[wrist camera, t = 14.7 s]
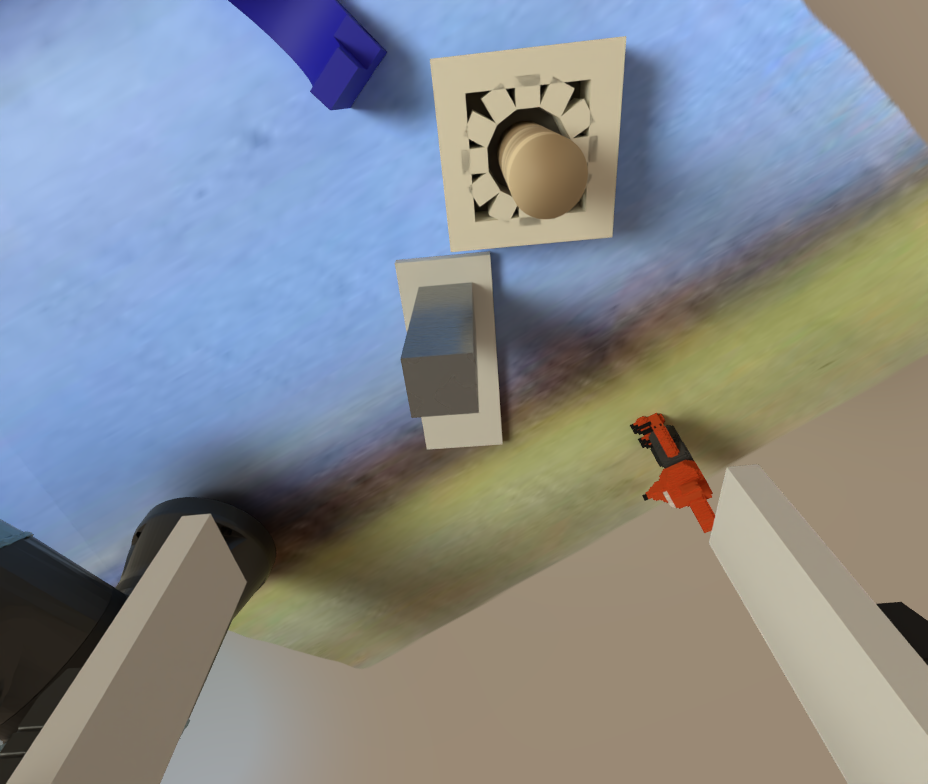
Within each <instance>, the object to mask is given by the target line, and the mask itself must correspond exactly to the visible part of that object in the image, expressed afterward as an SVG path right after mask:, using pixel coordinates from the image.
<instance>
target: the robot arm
mask: <svg viewBox="0 0 928 784" xmlns="http://www.w3.org/2000/svg"><path fill="white" fill-rule="evenodd" d="M33 535H34V534H32V533H31V532H23V531H21V530H19V529H17V528H15V527H14V526H12V525H10V524H8V523H6V522H4V521H3V520H1V519H0V740H1V741H3V745H1V746H0V784H160V782H161V780H162V778H163V775H164V773H165V771H166V768H167V766H168V764H169V761H170V759H171V757H172V755H173V752H174V750H175V747H176V745H177V743H178V741H179V739H180V737H181V735H182V733H183V731H184V729H185V728H186V727H187V726H188V724H189V722H190V720H189V717H190V715H191V713H192V711H193V708H194V706H195V704H196V701H197V699H198V697H199V695H200V692H201V690H202V688H203V686H204V683H205V681H206V679H207V676H208V674H209V672H210V670H211V667H212V665H213V663H214V660H215V658H216V656H217V653H218V651H219V649H220V647H221V644H222V642H223V640H224V637H225V635H226V633H227V631H228V629H229V626H230V624H231V622H232V620H233V619H234V617H235V616H236V615H237V614H238V613H239V611H240V610H241V609H242V608H243V607H244V606H245V604H246V603H247V602H248V601H249V599H250V598H251V597H252V596H253V594H254V593H255V592H256V591H257V590H258V589H259V588H260V587H261V586H262V585H263V584H264V583H265V581H266V580H267V578H268V576H269V574H270V572H271V569H272V567H273V564H274V562H275V558H276V548H275V544H274V541H273V539H272V537H271V535H270V534H269V532H268V531H267V530H266V529H265V528H264V526H263V525H262V524H261V523H259V522H258V521H257V520H256V519H255V518H253V517H252V516H250V515H249V514H247V513H246V512H244V511H242V510H240V509H238V508H236V507H234V506H232V505H229V504H226V503H223V502H220V501H216V500H212V499H206V498H197V497H185V498H176V499H172V500H168V501H165V502H163V503H161V504H159V505H157V506H155V507H154V508H153V509H152V510H151V511H150V512H149V513H148V514H147V515H146V517H145V518H144V519H143V521H142V522H141V523H140V525H139V526H138V528H137V529H136V531H135V533H134V536H133V539H132V545H131V548H130V550H129V553H128V556H127V559H126V563H125V566H124V570H123V573H122V576H121V580H120V582H119V584H118V585H117V586H116V588H114V587H113V586H111V585H109V584H108V583H106V582H105V581H103V580H101V579H100V578H98V577H97V576H95V575H93V574H92V573H90V572H89V571H87V570H85V569H84V568H82V567H81V566H79V565H77V564H76V563H74V562H73V561H71V560H70V559H68V558H66V557H65V556H63V555H62V554H60V553H58V552H57V551H55V550H54V549H52V548H50V547H49V546H47V545H46V544H44V543H42V542H41V541H39V540H38V539H36V538H34V537H33ZM709 544H710V546H711V548H712V549H713V551H714V553H715V555H716V556H717V558H718V560H719V562H720V563H721V565H722V567H723V569H724V570H725V572H726V574H727V575H728V577H729V579H730V581H731V582H732V584H733V586H734V588H735V589H736V591H737V593H738V594H739V596H740V598H741V600H742V601H743V603H744V605H745V607H746V608H747V610H748V612H749V614H750V615H751V617H752V619H753V620H754V622H755V624H756V625H757V627H758V629H759V631H760V633H761V634H762V636H763V637H764V639H765V641H766V643H767V645H768V646H769V648H770V650H771V652H772V653H773V655H774V657H775V659H776V660H777V662H778V664H779V665H780V667H781V669H782V671H783V672H784V674H785V676H786V678H787V679H788V681H789V683H790V685H791V686H792V688H793V690H794V691H795V693H796V695H797V697H798V698H799V700H800V702H801V703H802V705H803V707H804V709H805V711H806V712H807V714H808V716H809V718H810V719H811V721H812V722H813V724H814V726H815V728H816V730H817V731H818V733H819V735H820V736H821V738H822V740H823V742H824V743H825V745H826V747H827V749H828V750H829V752H830V754H831V756H832V757H833V759H834V761H835V762H836V764H837V766H838V768H839V769H840V771H841V773H842V774H843V776H844V778H845V780H846V782H847V783H848V784H928V621H927V620H926V619H924V618H923V617H922V616H920V615H919V614H917V613H916V612H915V611H913V610H912V609H910V608H909V607H907V606H906V605H905V604H903V603H902V602H894V603H882V604H876V603H875V602H874V601H873V600H872V599H871V598H870V597H869V595H868V594H867V593H866V592H865V590H864V589H863V588H862V587H861V586H860V585H859V583H858V582H857V581H856V580H855V578H854V577H853V576H852V575H851V574H850V573H849V571H848V570H847V569H846V568H845V567H844V565H843V564H842V563H841V562H840V561H839V559H838V558H837V557H836V556H835V555H834V554H833V552H832V551H831V550H830V549H829V548H828V547H827V545H826V544H825V543H824V542H823V540H822V539H821V538H820V537H819V536H818V534H817V533H816V532H815V531H814V530H813V528H812V527H811V526H810V525H809V524H808V523H807V521H806V520H805V519H804V518H803V517H802V515H801V514H800V513H799V512H798V511H797V509H796V508H795V507H794V506H793V505H792V504H791V502H790V501H789V500H788V499H787V498H786V496H785V495H784V494H783V493H782V492H781V490H780V489H779V488H778V487H777V486H776V484H775V483H774V482H773V481H772V480H771V479H770V477H769V476H768V475H767V474H766V473H765V471H764V470H763V469H762V468H761V467H760V466H759V464H754V465H743V466H732V467H727V469H726V473H725V478H724V481H723V485H722V490H721V494H720V499H719V503H718V507H717V511H716V515H715V519H714V524H713V528H712V532H711V537H710V541H709Z"/></svg>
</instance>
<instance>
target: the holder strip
mask: <svg viewBox="0 0 928 784" xmlns="http://www.w3.org/2000/svg"><path fill="white" fill-rule="evenodd" d="M395 267H396V273H397V279H398V285H399V290H400V296H401V302H402V308H403V314H404V319H405V325H406V331H408V327H409V323H410V319H411V315H412V311H413V307H414V304H415V300H416V296H417V292H418V288H419V287H423V286H435V285H446V284H457V283H469V282H472V288H473V300H474V311H475V322H476V338H477V367H478V397H479V413H471V414H458V415H444V416H430V417H421V418H422V423H423V429H424V435H425V441H426V446H427V449H440V448H455V447H469V446H484V445H498V444H502V429H501V414H500V398H499V383H498V368H497V352H496V337H495V321H494V306H493V291H492V275H491V260H490V251H488V252H477V253H466V254H456V255H445V256H434V257H423V258H412V259H401V260H396V262H395Z"/></svg>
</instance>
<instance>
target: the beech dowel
mask: <svg viewBox="0 0 928 784" xmlns="http://www.w3.org/2000/svg"><path fill="white" fill-rule="evenodd" d="M497 160H498V163H499V166H500V168H501V171H502V173H503V176H504V178H505V180H506V183H507V185H508V188H509V190H510V192H511V195H512V197H513V199H514V201H515V203H516V204H517V206H518V207H519V208H520V209H521V210H522V211H523V212H524V213H526V214H527V215H529V216H531V217H534V218H537V219H553V218H556V217H559V216H562V215H564V214H565V213H567V212H568V211H570V210H571V209H572V208H573V207H574V206H575V205H576V204H577V203H578V201H579V200H580V198H581V197H582V195H583V193H584V191H585V188H586V184H587V179H588V168H587V162H586V159H585V156H584V154H583V152H582V151H581V149H580V148H579V147H578V146H577V145H576V144H575V143H574V142H573V141H571V140H570V139H568V138H566V137H564V136H562V135H560V134H558V133H556V132H553V131H551V130H549V129H547V128H545V127H543V126H541V125H539V124H537V123H534V122H531V121H519V122H516V123H514V124H512V125H511V126H509V127H508V128H507V129H506V130H505V131H504V132H503V134H502V135H501V137H500V139H499V142H498V145H497Z"/></svg>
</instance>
